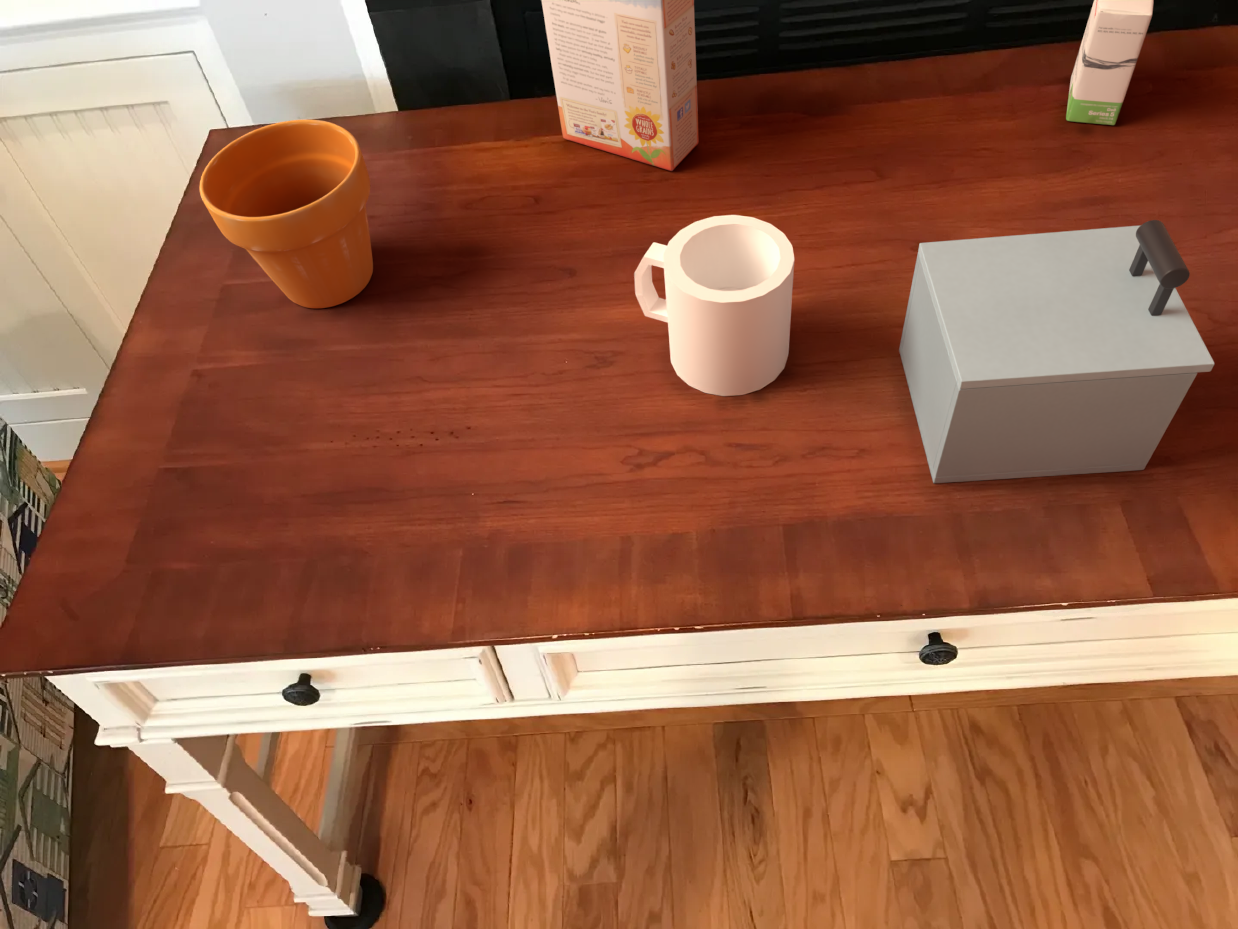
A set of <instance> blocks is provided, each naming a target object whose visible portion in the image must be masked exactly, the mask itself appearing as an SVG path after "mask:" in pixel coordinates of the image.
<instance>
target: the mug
mask: <svg viewBox="0 0 1238 929" xmlns="http://www.w3.org/2000/svg"><path fill="white" fill-rule="evenodd" d="M653 266H654V267H658V268H662V269H663V276H664V289H665V298H662V297H659V295H658V292H657V290H656V287H655V284H654V283H653V271H652V270H653V268H652V267H653ZM794 271H795V254H794V248H793V244H792V243H791V241H790V240H789V239H788V237H787V236H786V234H785V233H784V232H783V231H782V230H780V229H778V228H777V227H776V226H775V225H773V224H772V223H770V222H767V221H764V220H761V219H759V218H756V217H754V216H746V215H739V214H726V215H713V216H710V217H707V218H703V219H700V220H697V221H694V222H693V223H691V224H689V225H687V226H685V227H683V228H682V229H680V230H679V231H677V233H676V234H675V235H674V236H673V237H672V238H671V239H670V240H669V241H668V243H667V245H666V244H662V243H658V242H652V243H651V245H650V246H649V248H648V249H647V251H646V252H645V254H644V255H643V256H642V258H641V260H640V261H639V263H638V265H637V267H636V268H635V270H634V273H633V277H634V278H633V280H634V293H635V294H634V295H635V297H636V299H637V302H638V304H639V306H640V309H641V312H642V313H643V316H644V317H646V318H650V319H652V320H653V319H654V320H657V321H661V322H664V323H667V330H668V341H669V342H668V343H669V355H670V363H671V365H672V367H673V369H674V371H675V373H676V375H677V377H679V378H680V379H681V380H682V381H683V382H684V383H686V385H687V386H689V387H691V388H693V389H696V390H698V391H700V392H702V393H705V394H708V395H715V396H721V397H732V396H745V395H747V394H750V393H753V392H756V391H757V392H758V391H760V390H762V389H763V388H764V387H766V386H768V385H769V384H771V383H772V382H774V381H776V379H777V378H778V377H779V376H780V374H781V373H782V372H783V370H784V369H785V368H786V365H787V361H788V357H789V351H790V337H791V336H790V335H791V319H792V306H793V304H792V303H793V289H794V288H793V287H794V274H795V273H794Z"/></svg>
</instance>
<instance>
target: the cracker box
mask: <svg viewBox="0 0 1238 929" xmlns="http://www.w3.org/2000/svg"><path fill="white" fill-rule="evenodd" d="M541 6H542V12H543V13H542V14H543V17H544V18H543V19H544V25H545V33H546V39H547V44H548V50H549V57H550V63H551V71H552V77H553V83H554V88H555V96H556V101H557V108H558V114H559V121H560V127H561V133H562V138H563V139H564V140H567V141H571V142H573V143H577V144H580V145H584V146H587V147H591V148H594V149H597V150H600V151H604V152H607V153H610V154H614V155H616V156H617V155H618V156H620V157H623V158H627V159H630V160H633V161H637V162H639V163H642V164H643V163H644V164H647V165H650V166H653V167H656V168H660V169H663V170H665V171H669V172H673V171H674V170H676V167H677V166H679V164H680V163H682V161H683V160H684V159H685V158H686V157H687V156H688V155H689V154H690V153H691V152H692V151H693V150H694V149H695V147H696V146H698V144H699V142H700V141H699V140H700V139H699V114H698V111H699V109H698V108H699V106H698V86H697V85H698V83H697V55H696V54H697V53H696V52H697V51H696V50H697V49H696V26H695V25H696V24H695V23H696V22H695V0H541Z"/></svg>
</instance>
